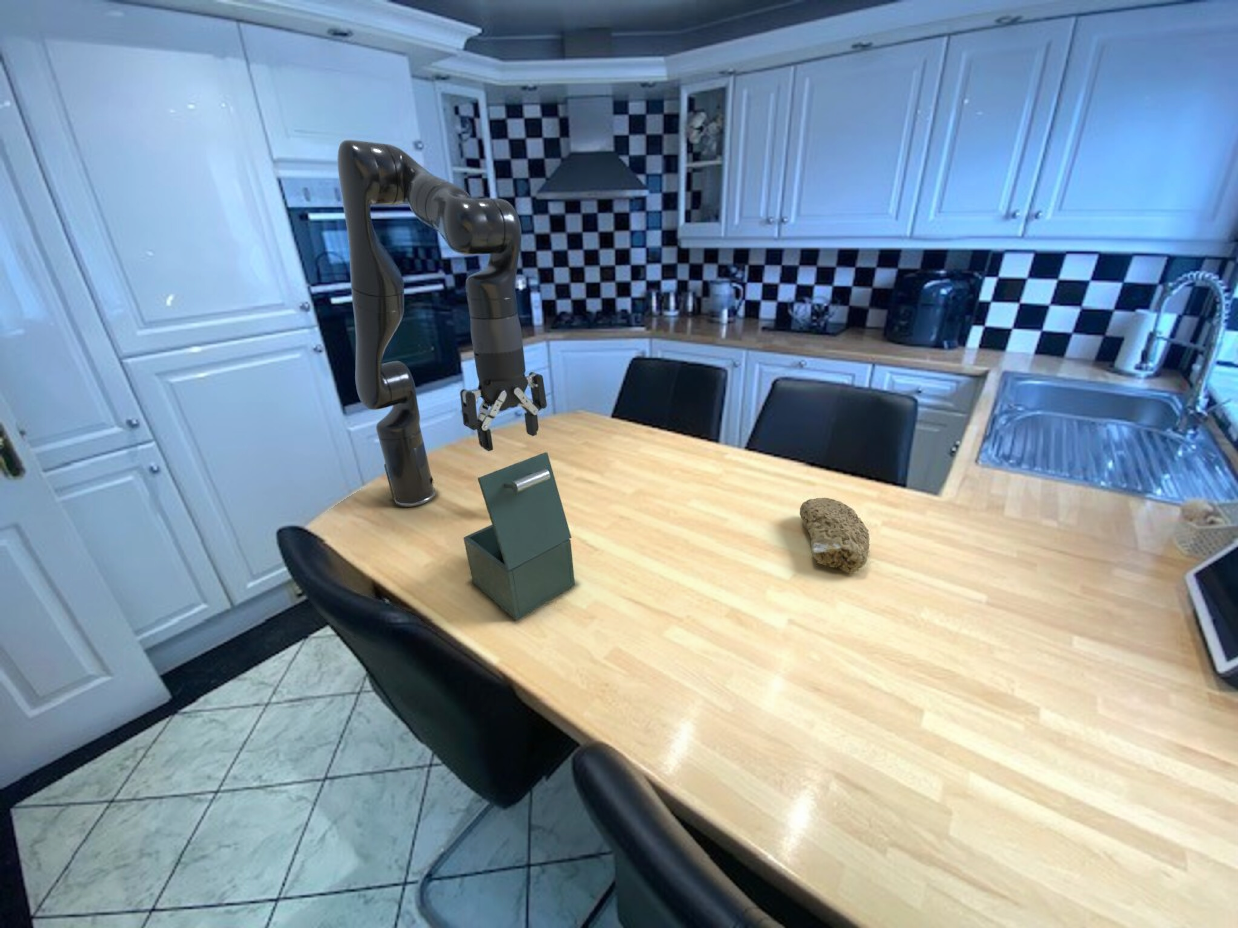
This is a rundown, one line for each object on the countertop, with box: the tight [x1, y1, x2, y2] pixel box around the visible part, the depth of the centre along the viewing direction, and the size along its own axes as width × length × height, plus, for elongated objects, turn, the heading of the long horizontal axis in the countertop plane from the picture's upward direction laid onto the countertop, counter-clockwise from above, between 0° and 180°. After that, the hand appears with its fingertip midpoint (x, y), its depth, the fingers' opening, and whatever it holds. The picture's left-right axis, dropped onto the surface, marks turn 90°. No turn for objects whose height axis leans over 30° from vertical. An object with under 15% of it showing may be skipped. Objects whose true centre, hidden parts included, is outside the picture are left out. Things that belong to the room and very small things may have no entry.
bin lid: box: [477, 451, 572, 570], centre depth 80 cm, size 15×13×5 cm
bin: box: [462, 524, 576, 621], centre depth 90 cm, size 15×13×10 cm
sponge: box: [799, 497, 870, 574], centre depth 98 cm, size 13×8×20 cm
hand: (510, 441), depth 85 cm, fingers open, 8 cm apart
